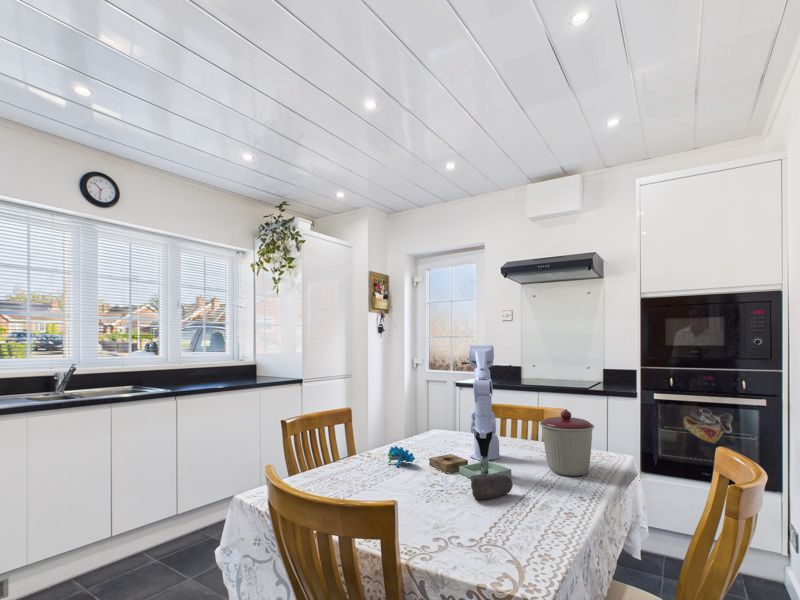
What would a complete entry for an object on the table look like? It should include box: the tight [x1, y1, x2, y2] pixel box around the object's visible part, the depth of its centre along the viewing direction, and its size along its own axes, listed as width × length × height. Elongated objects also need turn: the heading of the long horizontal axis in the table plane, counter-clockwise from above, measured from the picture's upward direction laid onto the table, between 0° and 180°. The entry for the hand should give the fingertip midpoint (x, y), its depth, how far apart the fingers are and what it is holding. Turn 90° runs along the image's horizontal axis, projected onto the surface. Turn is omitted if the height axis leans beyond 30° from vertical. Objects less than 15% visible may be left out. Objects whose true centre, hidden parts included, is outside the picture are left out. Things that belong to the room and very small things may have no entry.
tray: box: [458, 460, 512, 480], centre depth 150 cm, size 13×12×2 cm
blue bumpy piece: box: [387, 445, 416, 467], centre depth 162 cm, size 11×6×10 cm
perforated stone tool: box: [470, 474, 513, 501], centre depth 130 cm, size 15×5×7 cm, turn 110°
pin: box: [479, 454, 489, 475], centre depth 150 cm, size 3×3×8 cm
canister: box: [539, 410, 595, 477], centre depth 153 cm, size 18×18×21 cm
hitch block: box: [428, 453, 469, 474], centre depth 159 cm, size 10×10×3 cm
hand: (484, 454), depth 150 cm, fingers open, 3 cm apart
